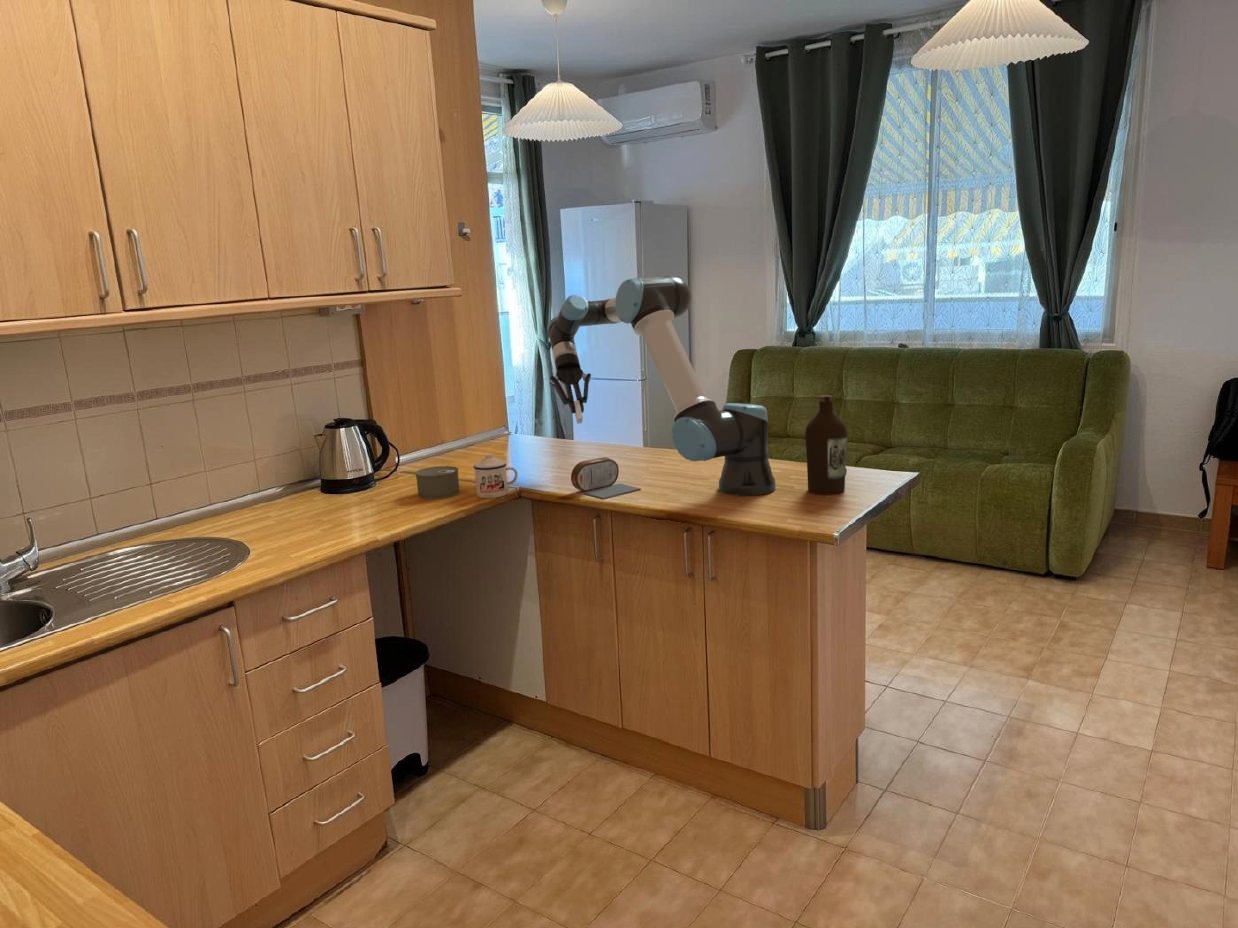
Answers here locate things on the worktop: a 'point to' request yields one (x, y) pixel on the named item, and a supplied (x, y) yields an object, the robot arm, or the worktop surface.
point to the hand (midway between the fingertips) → (579, 420)
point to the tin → (594, 474)
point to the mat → (612, 491)
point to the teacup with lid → (492, 477)
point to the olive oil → (826, 450)
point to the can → (437, 482)
